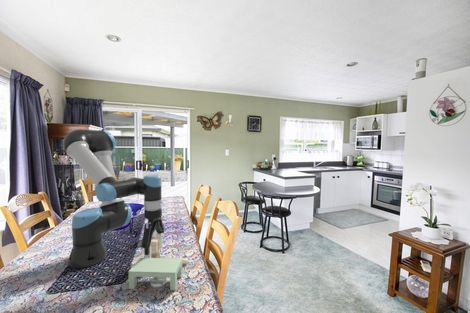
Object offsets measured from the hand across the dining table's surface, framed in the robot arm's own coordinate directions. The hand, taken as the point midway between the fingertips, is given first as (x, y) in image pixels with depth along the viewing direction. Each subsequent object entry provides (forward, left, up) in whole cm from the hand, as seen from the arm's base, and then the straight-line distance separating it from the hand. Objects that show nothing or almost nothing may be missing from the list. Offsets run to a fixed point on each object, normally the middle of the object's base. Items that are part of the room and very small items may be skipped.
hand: (154, 253), depth 102 cm
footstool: (+7, -14, -4) cm, 16 cm away
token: (+8, -15, -5) cm, 17 cm away
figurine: (-10, +25, -5) cm, 27 cm away
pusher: (+7, 0, -4) cm, 8 cm away
